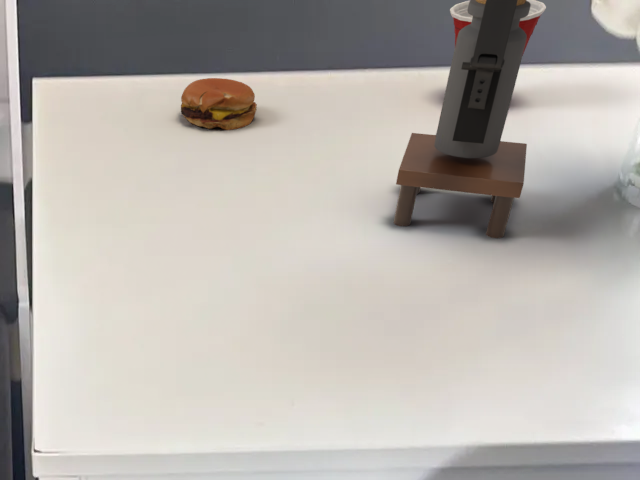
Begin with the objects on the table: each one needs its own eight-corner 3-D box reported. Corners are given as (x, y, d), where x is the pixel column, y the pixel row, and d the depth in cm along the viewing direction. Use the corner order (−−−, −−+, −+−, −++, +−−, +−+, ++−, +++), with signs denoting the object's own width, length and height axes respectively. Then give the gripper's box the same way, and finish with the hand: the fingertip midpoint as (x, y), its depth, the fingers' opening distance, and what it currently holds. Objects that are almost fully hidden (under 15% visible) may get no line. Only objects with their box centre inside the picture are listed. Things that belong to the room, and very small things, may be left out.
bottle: (421, 148, 93) (456, -20, 84) (454, 133, 96) (491, -30, 87) (477, 163, 89) (520, -11, 80) (509, 148, 92) (554, -22, 83)
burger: (223, 103, 127) (226, 67, 125) (269, 122, 121) (273, 85, 118) (163, 118, 124) (164, 81, 121) (207, 138, 117) (209, 100, 114)
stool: (511, 200, 99) (527, 143, 95) (507, 243, 91) (523, 183, 87) (400, 188, 102) (411, 132, 99) (387, 228, 94) (398, 169, 91)
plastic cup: (421, 92, 128) (440, -4, 121) (502, 90, 128) (526, -7, 120) (445, 118, 120) (467, 16, 112) (533, 116, 119) (561, 13, 112)
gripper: (493, -165, 86) (438, 97, 99) (481, -142, 72) (418, 158, 86) (586, -166, 83) (516, 103, 97) (591, -141, 69) (508, 168, 83)
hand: (470, 129), depth 91 cm, fingers closed on bottle, 6 cm apart
